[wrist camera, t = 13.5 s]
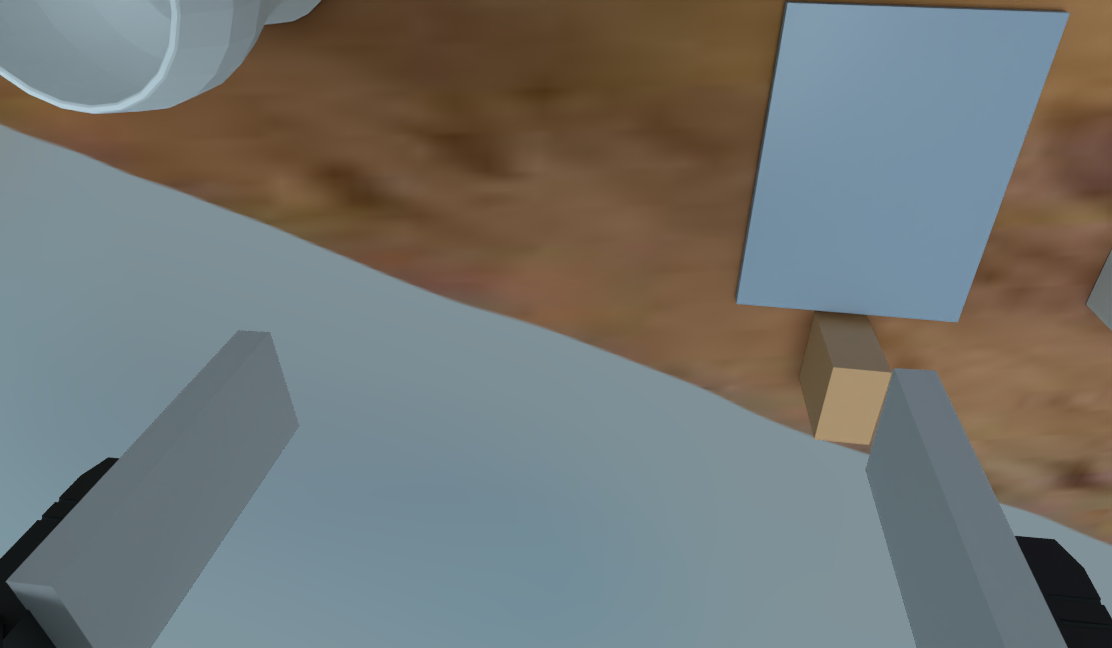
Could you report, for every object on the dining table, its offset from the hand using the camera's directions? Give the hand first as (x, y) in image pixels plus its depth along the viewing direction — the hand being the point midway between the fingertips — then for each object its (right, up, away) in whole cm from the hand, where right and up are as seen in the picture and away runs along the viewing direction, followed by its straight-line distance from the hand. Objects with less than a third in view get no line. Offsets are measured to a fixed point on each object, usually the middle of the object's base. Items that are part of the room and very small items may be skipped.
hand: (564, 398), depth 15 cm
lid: (+17, +7, +24) cm, 31 cm away
